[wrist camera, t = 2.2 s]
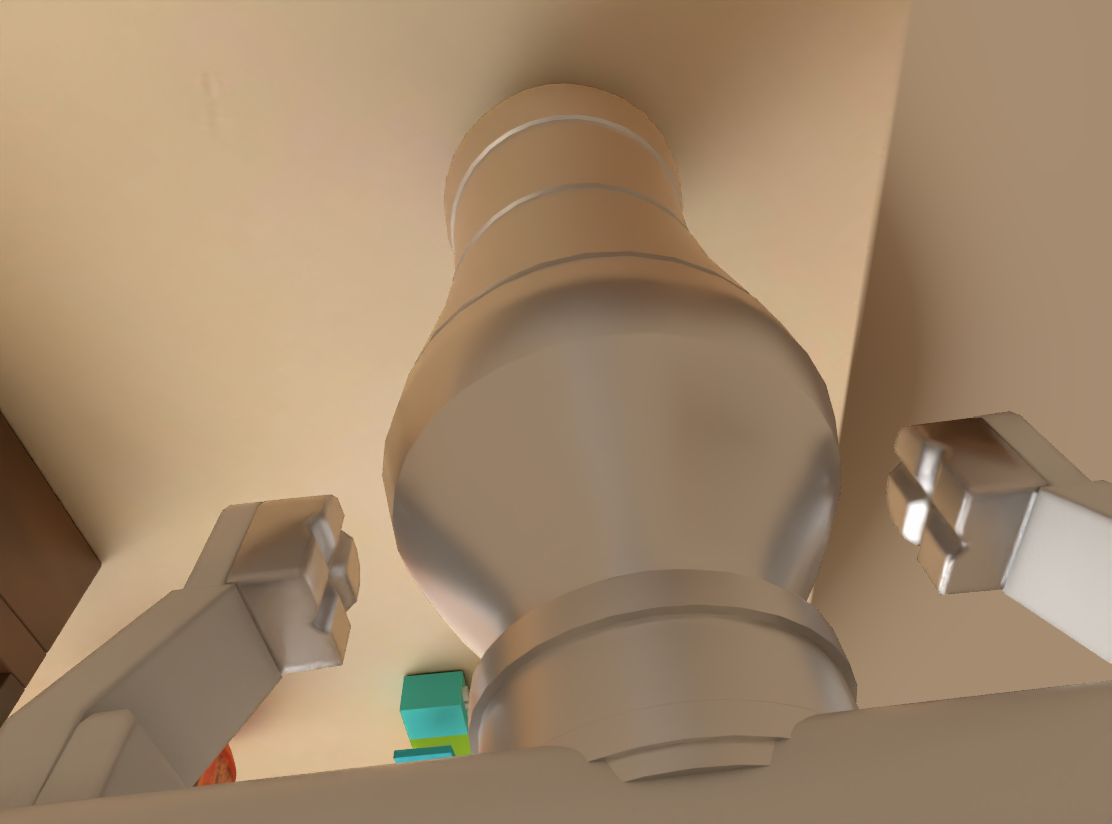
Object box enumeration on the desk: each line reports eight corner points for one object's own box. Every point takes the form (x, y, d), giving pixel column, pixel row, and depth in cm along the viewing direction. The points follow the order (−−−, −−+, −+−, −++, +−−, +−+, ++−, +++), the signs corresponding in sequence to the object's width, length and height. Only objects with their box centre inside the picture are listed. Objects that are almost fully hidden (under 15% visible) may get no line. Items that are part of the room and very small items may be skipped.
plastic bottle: (666, 260, 24) (1002, 971, 8) (469, 286, 24) (397, 1041, 8) (659, 52, 21) (1264, 568, 4) (427, 84, 21) (141, 706, 4)
